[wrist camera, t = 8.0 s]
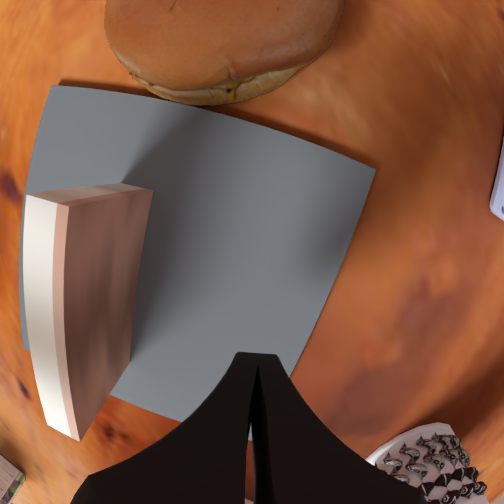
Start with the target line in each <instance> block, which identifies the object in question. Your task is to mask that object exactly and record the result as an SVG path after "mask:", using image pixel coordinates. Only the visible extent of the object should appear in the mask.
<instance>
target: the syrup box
mask: <svg viewBox="0 0 504 504" xmlns="http://www.w3.org/2000/svg"><path fill="white" fill-rule="evenodd" d="M24 480H25V475H24V474H23V473H22V472H21V471H19V470H18V469H17V468H16V467H15V466H13V465H12V464H11V463H10V462H9V461H7V460H6V459H5V458H4V457H3V456H1V455H0V504H11V502H12V501H13V499H14V498H15V496H16V494H17V493H18V491H19V489H20V488H21V486H22V485H23V483H24Z"/></svg>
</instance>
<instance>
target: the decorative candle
mask: <svg viewBox="0 0 504 504" xmlns="http://www.w3.org/2000/svg"><path fill="white" fill-rule="evenodd" d="M462 448H463V444H462V442H461V440H459V438H458V437H457V436H455V434H454V432H453V430H452V429H451V427H450V425H449V424H444V423H439V422H436V423H431V424H426V425H421V426H418V427H416V428H414V429H411V430H409V431H407V432H404V433H402V434H399V435H397V436H396V437H394V438H393V439H391V440H390V441H388V442H386V443H385V444H383V445H381V446H380V447H378V448H377V449H376V450H375V451H374V452H373V453H372V454H370V455H369V456H368V457H367V458H366V459H365V460H366V461H367V462H369V463H370V464H372V465H374V466H375V467H377V468H378V469H380V470H382V471H383V472H385V473H387V474H389V475H390V476H393V477H395V478H397V479H399V480H401V481H403V482H405V483H407V484H409V485H412V486H414V487H416V488H418V489H421V491H422V493H423V495H424V497H425V499H426V500H427V502H428V504H489V502H488V500H487V498H486V497H485V495H484V493H485V491H486V489H487V486H486V485H485V484H484V482H482V481H480V482H476V480H477V477H478V475H479V472H478V471H477V470H476V468H475V467H469V468H468V466H469V464H470V461H471V457H470V455H469V453H467V451H466V450H464V449H462Z"/></svg>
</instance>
